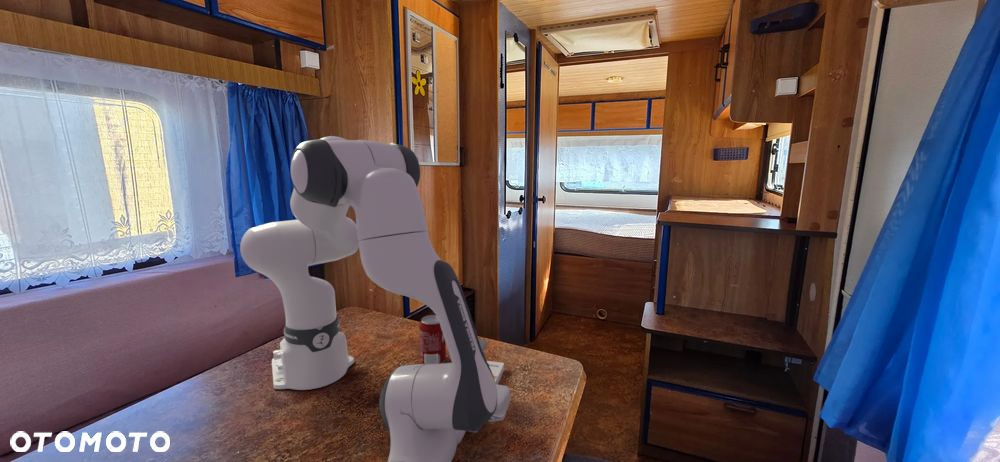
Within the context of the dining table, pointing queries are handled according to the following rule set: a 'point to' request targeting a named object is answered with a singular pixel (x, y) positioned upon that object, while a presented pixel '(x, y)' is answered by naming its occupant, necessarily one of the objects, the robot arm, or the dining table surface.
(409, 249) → the robot arm
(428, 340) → the soda can
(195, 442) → the dining table surface
